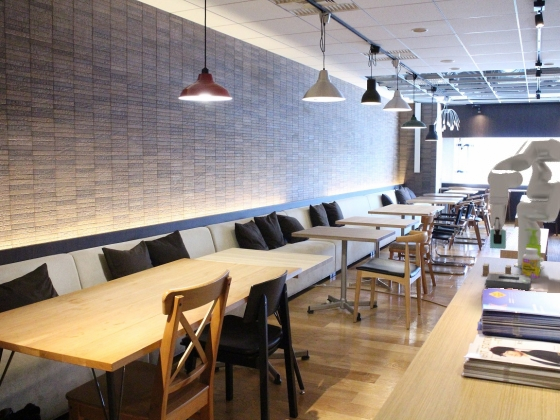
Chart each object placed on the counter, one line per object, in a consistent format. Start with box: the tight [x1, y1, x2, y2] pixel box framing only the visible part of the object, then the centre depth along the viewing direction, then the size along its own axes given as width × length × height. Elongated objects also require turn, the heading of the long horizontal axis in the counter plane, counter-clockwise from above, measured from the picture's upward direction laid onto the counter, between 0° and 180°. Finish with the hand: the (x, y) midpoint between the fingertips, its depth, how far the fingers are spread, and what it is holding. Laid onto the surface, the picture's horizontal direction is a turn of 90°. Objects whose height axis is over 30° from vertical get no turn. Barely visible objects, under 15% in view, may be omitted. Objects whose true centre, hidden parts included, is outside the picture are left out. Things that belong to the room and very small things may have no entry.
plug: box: [489, 227, 507, 250], centre depth 235 cm, size 4×6×8 cm, turn 63°
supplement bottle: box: [521, 248, 541, 279], centre depth 231 cm, size 7×7×13 cm
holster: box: [480, 263, 514, 277], centre depth 236 cm, size 10×12×5 cm
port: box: [485, 273, 532, 291], centre depth 220 cm, size 14×16×3 cm
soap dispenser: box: [524, 229, 542, 274], centre depth 240 cm, size 6×7×20 cm
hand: (498, 242), depth 235 cm, fingers closed on plug, 4 cm apart
